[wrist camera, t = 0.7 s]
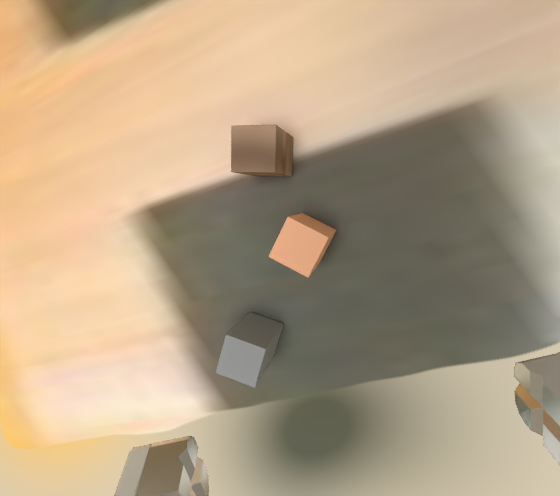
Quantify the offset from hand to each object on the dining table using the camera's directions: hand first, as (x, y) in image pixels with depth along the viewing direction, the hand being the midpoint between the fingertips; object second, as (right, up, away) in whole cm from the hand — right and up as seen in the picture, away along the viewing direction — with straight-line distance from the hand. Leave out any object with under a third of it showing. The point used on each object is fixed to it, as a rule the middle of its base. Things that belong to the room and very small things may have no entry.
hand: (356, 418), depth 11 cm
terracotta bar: (+2, +5, +40) cm, 40 cm away
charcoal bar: (-4, -7, +43) cm, 43 cm away
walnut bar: (-3, +15, +40) cm, 43 cm away
